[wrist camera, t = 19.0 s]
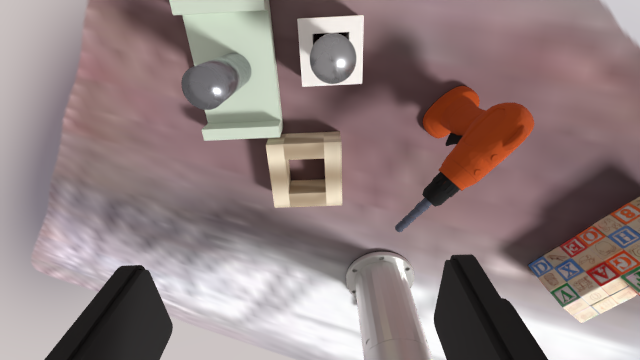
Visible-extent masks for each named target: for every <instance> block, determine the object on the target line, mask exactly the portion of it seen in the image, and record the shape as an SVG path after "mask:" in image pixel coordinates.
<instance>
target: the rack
mask: <svg viewBox="0 0 640 360" xmlns="http://www.w3.org/2000/svg"><path fill="white" fill-rule="evenodd" d="M169 1H170V5H171V9H172V13H173V15H182V16H183V20H184V24H185V28H186V33H187V37H188V41H189V45H190V50H191V54H192V58H193V62H194V66H197V65H199V64H202V63H204V62H207V61H210V60H212V59H215V58H218V57H220V56H223V55H226V54H228V53H238V54H241V55H242V56H244V57H245V58H246V59H247V60H248V62H249V64H250V66H251V77H250V79H249V81H248V82H247V83H246V84H245V85H244V86H242V87H241V88H240V89H239V90H238V91H236V92H235V93H234V94H233V95H231V96H230V97H229V98H228V99H227V100H225V101H224V102H223V103H222V104H221V105H219V106H218V107H217V108H215V109H211V110H205V113H206V117H207V122H208V124H207V125H206V126H205V127H204V128H203V129H202V134H203V138H204V141H207V140H230V139H252V138H275V137H280V135H281V132H282V130H283V120H282V111H281V102H280V93H279V84H278V75H277V66H276V57H275V48H274V39H273V31H272V22H271V13H270V4H269V0H169Z"/></svg>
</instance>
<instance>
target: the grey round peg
mask: <svg viewBox="0 0 640 360" xmlns="http://www.w3.org/2000/svg"><path fill="white" fill-rule="evenodd" d="M250 77H251V66H250V64H249V62H248V60H247V59H246V58H245V57H244V56H242V55H241V54H238V53H228V54H226V55H223V56H220V57H218V58H215V59H212V60H210V61H207V62H204V63H202V64H199V65H197V66H194V67H191V68H190V69H188V70H187V71H186V72H185V73H184V75H183V78H182V90H183V93H184V95H185V97H186V98H187V100H188V101H189V102H190V103H191V104H192V105H194V106H195V107H197V108H200V109H203V110H211V109H215V108H217V107H218V106H219V105H221V104H222V103H223V102H224V101H225V100H227V99H228V98H229V97H230V96H231V95H233V94H234V93H235V92H236V91H238V90H239V89H240V88H241V87H242V86H244V85H245V84H246V83H247V82H248V81H249V79H250Z"/></svg>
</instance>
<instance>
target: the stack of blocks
mask: <svg viewBox="0 0 640 360" xmlns="http://www.w3.org/2000/svg"><path fill="white" fill-rule="evenodd" d="M528 266H529V267H530V269H531V270H532V271H533V272H534V274H535V275H536V276H537V277H538V279H539V280H540V281H541V282H542V284H543V285H544V286H545V287H546V289H547V290H548V291H549V292H550V293H551V294H552V295H553V297H554V298H555V299H556V300H557V301H558V303H559V304H560V305H561V306H562V307H563V308H564V309H565V310H566V311H567V312H569V313H570V314H571V315H572V316H574V317H575V318H576V319H577V320H578V321H579V322H580V323H583V322H585V321H587V320H589V319H591V318H593V317H595V316H597V315H598V314H601V313H603V312H605V311H607V310H609V309H611V308H613V307H615V306H617V305H618V304H621V303H623V302H625V301H627V300H629V299H631V298H633V297H634V296H636V295H637V294H638V295H639V296H640V197H638V198H636V199H635V200H633V201H631V202H630V203H627V204H626V205H624V206H622V207H621V208H619V209H618V210H616V211H614V212H613V213H611V214H610V215H608V216H606V217H604V218H603V219H601V220H599V221H598V222H596V223H594V224H593V225H592V226H591V227H589V228H587V229H586V230H584V231H583V232H581V233H579V234H578V235H576V236H575V237H573V238H572V239H570V240H568V241H567V242H565V243H563V244H562V245H560V246H559V247H557V248H555V249H553V250H552V251H550V252H548V253H547V254H545V255H544V256H542V257H540V258H539V259H537V260H535V261H534V262H532V263H531V264H529V265H528Z"/></svg>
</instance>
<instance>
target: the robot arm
mask: <svg viewBox="0 0 640 360" xmlns="http://www.w3.org/2000/svg"><path fill="white" fill-rule="evenodd" d="M413 282H414V272H413V269H412V266H411V264H410V263H409V262H408V261H407V260H406V259H405V258H404V257H402V256H400V255H398V254H395V253H391V252H373V253H370V254H366V255H364V256H362V257H360V258H358V259H357V260H355V261H354V262H353V263H352V264H351V266H350V267H349V269H348V271H347V273H346V284H347V288H348V289H349V291H350V293H351V294H352V295H353V296H355V297H356V298H357V305H358V313H359V322H360V330H361V338H362V346H363V354H364V360H433V359H432V355H431V352H430V349H429V346H428V343H427V340H426V337H425V334H424V331H423V328H422V325H421V322H420V318H419V315H418V312H417V309H416V306H415V303H414V300H413V297H412V294H411V290H410V288H411V286H412V285H413ZM434 324H435V328H436V331H437V334H438V337H439V339H440V342H441V345H442V348H443V350H444V353H445V356H446V359H447V360H548V359H547V357H546V356H545V354H544V353H543V351H542V350H541V348H540V347H539V345H538V343H537V342H536V340H535V339H534V337H533V336H532V334H531V333H530V331H529V330H528V328H527V327H526V325H525V324H524V322H523V321H522V319H521V318H520V316H519V315H518V313H517V311H516V310H515V308H514V307H513V306H512V304H511V303H510V302H509V301H507V300H506V299H503V298H501V297H500V296H499V294H498V293H497V291H496V289H495V288H494V286H493V285H492V283H491V281H490V280H489V278H488V277H487V275H486V274H485V272H484V270H483V269H482V267H481V266H480V264H479V262H478V261H477V259H476V258H475V257H474V256H473V255H452V256H451V259H450V260H446V261H445V265H444V270H443V275H442V280H441V284H440V289H439V294H438V299H437V304H436V309H435V313H434ZM172 328H173V327H172V322H171V319H170V317H169V315H168V313H167V310H166V308H165V306H164V304H163V301H162V299H161V297H160V295H159V292H158V290H157V288H156V286H155V283H154V281H153V279H152V277H151V274H150V272H149V271H148V270H145V268H144V267H143V266H142V265H134V266H121V267H119V268H118V269H117V270H116V271H115V272H114V274H113V275H112V276H111V277H110V279H109V280H108V281H107V282H106V284H105V285H104V286H103V287H102V289H101V290H100V291H99V292H98V294H97V295H96V296H95V297H94V299H93V300H92V301H91V303H90V304H89V305H88V306H87V307H86V309H85V310H84V311H83V312H82V314H81V315H80V316H79V317H78V319H77V320H76V321H75V322H74V324H73V325H72V326H71V327H70V329H69V330H68V331H67V332H66V334H65V335H64V336H63V337H62V339H61V340H60V341H59V342H58V344H57V345H56V346H55V347H54V348H53V350H52V351H51V352H50V354H49V355H48V356H47V357H46V358H45V360H160V357H161V355H162V353H163V351H164V349H165V347H166V345H167V343H168V340H169V338H170V336H171V333H172Z"/></svg>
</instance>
